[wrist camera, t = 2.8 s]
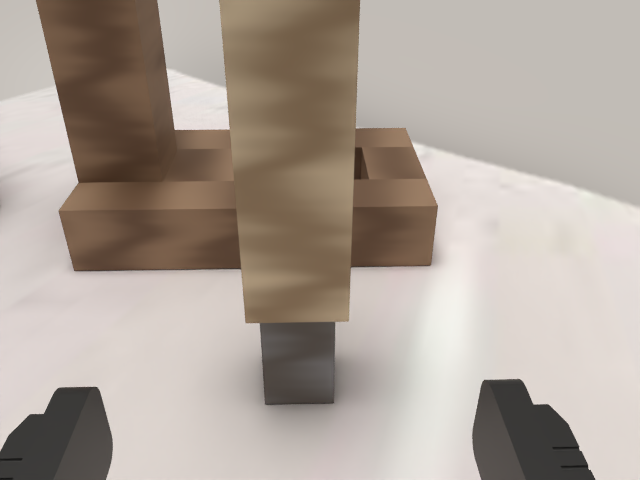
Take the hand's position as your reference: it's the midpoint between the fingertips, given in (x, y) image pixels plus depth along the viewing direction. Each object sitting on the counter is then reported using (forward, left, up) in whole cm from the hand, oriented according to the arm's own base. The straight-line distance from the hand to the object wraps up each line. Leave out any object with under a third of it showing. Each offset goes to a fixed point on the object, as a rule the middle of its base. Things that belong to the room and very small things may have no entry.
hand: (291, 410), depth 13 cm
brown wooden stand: (-16, +21, -10) cm, 28 cm away
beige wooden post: (-6, +10, -10) cm, 15 cm away
